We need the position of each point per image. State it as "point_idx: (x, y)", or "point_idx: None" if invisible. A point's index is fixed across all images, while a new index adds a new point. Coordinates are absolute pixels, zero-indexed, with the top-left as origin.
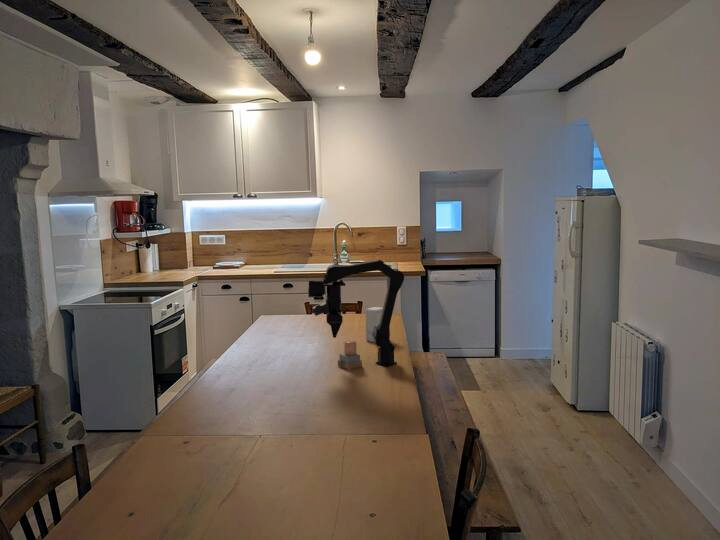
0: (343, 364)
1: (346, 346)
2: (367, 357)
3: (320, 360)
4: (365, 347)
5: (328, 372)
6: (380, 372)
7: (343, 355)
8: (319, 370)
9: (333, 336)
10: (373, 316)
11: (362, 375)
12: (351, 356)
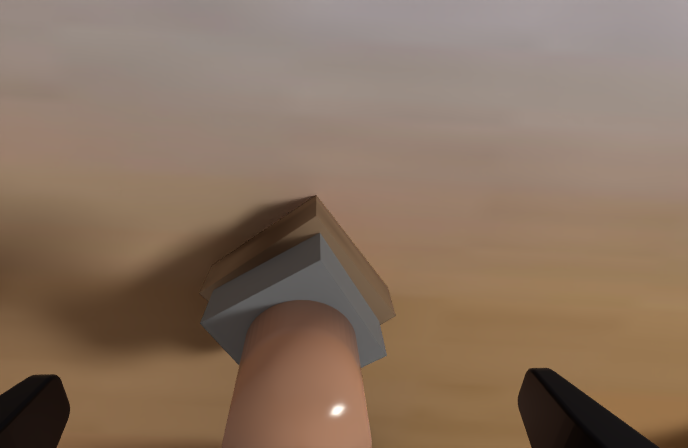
0: (255, 248)
1: (243, 385)
2: (470, 382)
3: (516, 54)
4: (682, 383)
5: (156, 110)
6: (162, 422)
7: (266, 291)
8: (216, 27)
9: (12, 399)
10: None
11: (96, 336)
12: (226, 349)
